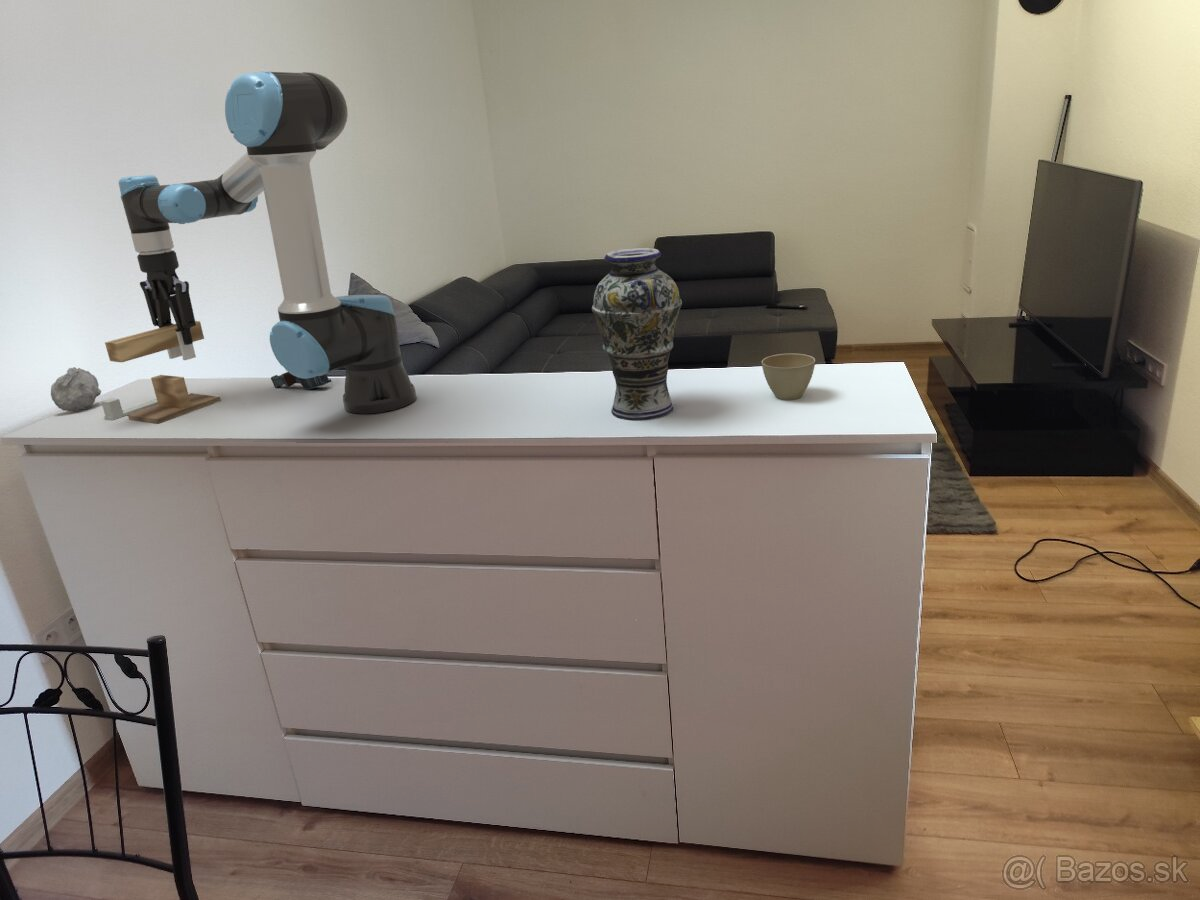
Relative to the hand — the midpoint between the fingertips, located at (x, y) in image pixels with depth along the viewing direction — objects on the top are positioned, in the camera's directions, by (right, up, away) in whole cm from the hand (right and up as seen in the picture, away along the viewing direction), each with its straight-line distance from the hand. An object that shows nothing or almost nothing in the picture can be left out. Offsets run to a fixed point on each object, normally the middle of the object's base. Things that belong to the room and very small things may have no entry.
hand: (182, 357), depth 190 cm
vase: (+101, -13, -26) cm, 105 cm away
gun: (+24, -6, +9) cm, 26 cm away
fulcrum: (-1, -12, 0) cm, 12 cm away
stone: (-26, -11, +7) cm, 29 cm away
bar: (-3, +1, -5) cm, 6 cm away
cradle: (-10, -11, +4) cm, 15 cm away
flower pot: (+130, -10, -25) cm, 132 cm away
